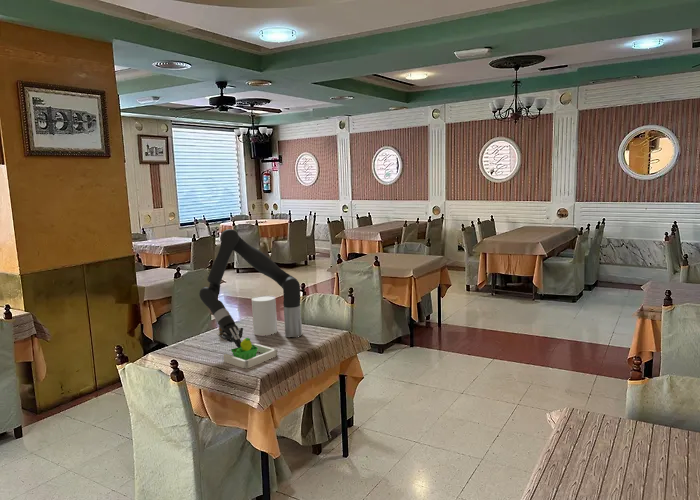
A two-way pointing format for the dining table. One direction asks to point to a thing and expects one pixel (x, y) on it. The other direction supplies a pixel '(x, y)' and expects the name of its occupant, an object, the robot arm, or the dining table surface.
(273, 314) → the canister
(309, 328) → the dining table surface
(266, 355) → the corral
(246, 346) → the fruit basket
